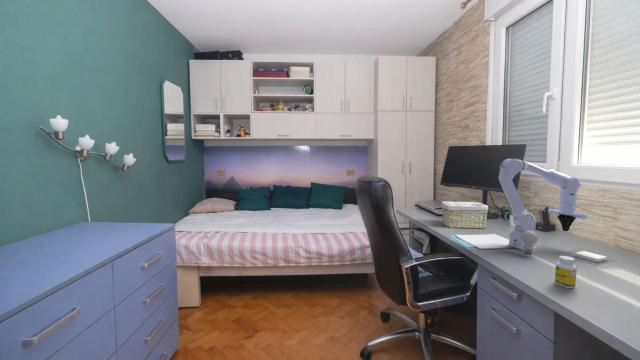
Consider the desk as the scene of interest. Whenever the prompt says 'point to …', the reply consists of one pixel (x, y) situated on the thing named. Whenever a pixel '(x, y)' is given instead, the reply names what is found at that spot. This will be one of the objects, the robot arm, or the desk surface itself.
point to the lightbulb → (529, 240)
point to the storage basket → (464, 214)
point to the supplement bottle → (565, 272)
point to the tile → (590, 256)
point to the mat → (571, 254)
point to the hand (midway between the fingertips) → (565, 230)
